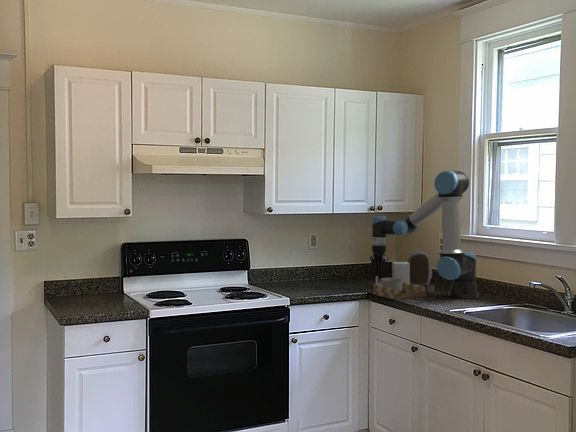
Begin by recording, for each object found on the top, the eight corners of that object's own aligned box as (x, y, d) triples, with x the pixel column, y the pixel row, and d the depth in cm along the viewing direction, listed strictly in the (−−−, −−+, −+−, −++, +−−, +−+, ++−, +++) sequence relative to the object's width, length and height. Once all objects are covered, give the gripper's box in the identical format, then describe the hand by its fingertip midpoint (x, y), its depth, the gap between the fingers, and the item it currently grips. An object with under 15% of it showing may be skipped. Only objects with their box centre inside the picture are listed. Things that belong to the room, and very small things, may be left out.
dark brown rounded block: (405, 286, 359) (406, 251, 358) (406, 283, 367) (406, 249, 366) (432, 287, 355) (433, 251, 355) (432, 284, 364) (432, 250, 363)
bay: (440, 296, 325) (440, 279, 325) (399, 300, 311) (399, 282, 311) (412, 290, 343) (413, 274, 343) (373, 294, 329) (373, 277, 329)
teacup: (406, 294, 329) (407, 279, 329) (390, 296, 324) (390, 281, 323) (390, 290, 341) (390, 276, 341) (374, 292, 336) (374, 277, 335)
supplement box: (408, 288, 350) (408, 261, 350) (409, 290, 341) (410, 263, 341) (391, 288, 351) (392, 261, 351) (392, 290, 342) (393, 263, 342)
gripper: (366, 244, 344) (365, 286, 345) (381, 245, 332) (380, 290, 333) (376, 243, 347) (376, 285, 348) (392, 245, 336) (391, 289, 337)
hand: (378, 287), depth 341 cm, fingers closed
